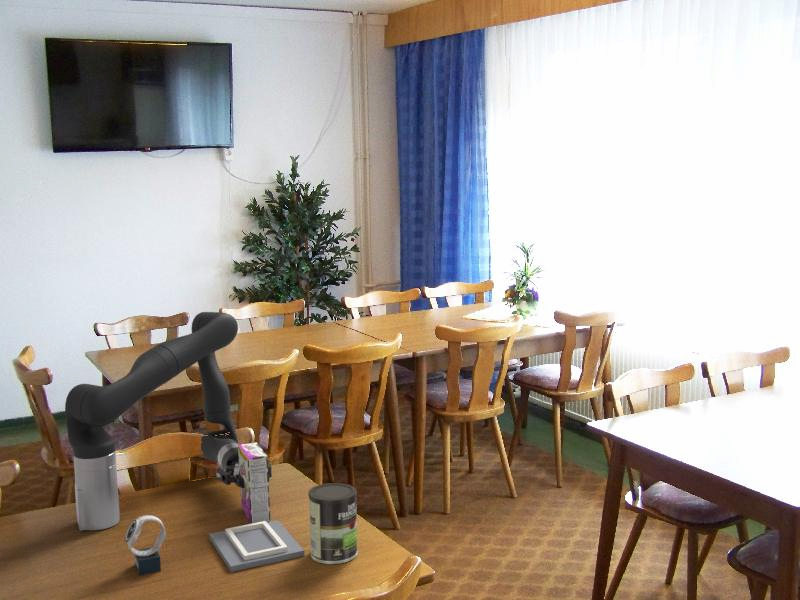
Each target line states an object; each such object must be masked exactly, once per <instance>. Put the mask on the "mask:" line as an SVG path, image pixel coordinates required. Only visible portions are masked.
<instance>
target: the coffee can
mask: <svg viewBox="0 0 800 600" xmlns="http://www.w3.org/2000/svg"><path fill="white" fill-rule="evenodd" d="M307 493H308V506H309V507H308V509H309V539H310V540H309V541H310V554H309V555H310V558H311V559H312V560H313V561H315V562H317V563H319V564H325V565H341V564H344V563H345V564H346V563H347V562H350V561H352V560H354V559H355V558H356V557H357V556H358V553H359V551H358V522H357V521H358V519H357V518H358V517H357V516H358V513H357V512H358V511H357V510H358V509H357V493H358V490H357V488H356V487H354V485H351V484H349V483H348V484H346V483H341V482H340V483H339V482H330V483H328V482H327V483H322V484H319V485H315V486H313V487H312V488H310V489H309V490H308V492H307Z"/></svg>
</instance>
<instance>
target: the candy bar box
mask: <svg viewBox="0 0 800 600" xmlns="http://www.w3.org/2000/svg"><path fill="white" fill-rule="evenodd" d="M238 454H239V472H240V475H241V476H242V478H243V479H244V485H245V488H241V487H239V488H240V504H241V505H240V506H241V510H242V511H243V513H244V515H245V516H246V518H247V519H248V521H249V522H250V523H249V524H252V523H257V522H262V521H266V522H271V505H270V503H271V501H270V500H271V499H270V484H269V483H270V478H269V479H268V458H269V457H268V455H267V453H265V451H264V450H263V448H262V447H261V446H260V445H259V443H258V442H251V443H250V442H249V443H247V442H246V443H242V444H240V443H239V445H238Z"/></svg>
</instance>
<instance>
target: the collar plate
mask: <svg viewBox="0 0 800 600" xmlns="http://www.w3.org/2000/svg"><path fill="white" fill-rule="evenodd" d="M209 540H210V542H211V543H212V545H213V546H214V548H215V549H216V552H217V553H218V554H219V556H220V557H221V559H222V560H223V562H224V563H225V565H226V567H227V568H228V570H229V571H230V573H233V572H238V571H242V570H246V569H251V568H255V567H260V566H265V565H268V564H273V563H279V562H282V561H286V560H287V561H288V560H291V559H296V558H301V557H304V556H305V550H304V548H303V547H302V546H301V545H300V544H299V542H298V541H297V540H296V539H295V538H294V537H293V535H291V533H290V531H289V532H288V530H287V529H286V528H285V527H284V526H283V525H282V523H281V522H280V521H279V520H278V519H277V520H272V521H271V520H270V522H266V521H262V522H257V523H252V524H251V523H248V524H244V525H238V526H233V527H229V528H228V527H227V528H225V529H224V530H223V531H222V530H220V531H217V532H212V533H209Z"/></svg>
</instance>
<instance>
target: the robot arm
mask: <svg viewBox="0 0 800 600" xmlns="http://www.w3.org/2000/svg"><path fill="white" fill-rule="evenodd" d="M190 329H191V333H189V334H186V335H182V336H178V337H174V338H171V339H169V340H165V341H163V342H161V343H158V344H155V345H154V346H153V347H151V348H149V349H147V350H146V351H144V352H143V353H142V354H140V355H139V356H138V357H137V358H136V359H135V361H134V363H133V364H132V366H131V368H130V370H129V372H128V373H127V374H126V375H124V376H123V377H121V378H120V379H118V380H116V381H114V382H112V383H110V384H107V385H104V386H101V385H97V384H90V383H80V384H76V385H75V386H73V388H71V390H69V392H68V394H67V396H66V398H65V406H64V415H65V422H66V430H67V437H68V442H69V445H70V447H71V449H72V453H73V454H72V455H73V468H74V469H73V470H74V494H75V507H76V508H75V510H76V521H77V525H78V530H79V531H80V532H81V531H100V530H105V529H108V528H109V529H110V528H112V527H114V526H116V525H117V524H119V523H120V521H121V520H120V517H121V516H120V513H121V512H120V503H119V502H120V501H119V487H118V485H119V484H118V483H119V482H118V472H117V471H118V470H117V467H118V466H117V454H116V453H117V452H116V442H115V438H114V437H113V436H112V435H111V434H109V433H108V431H107V430H106V429H105V428H104V427H106V426H107V425H110V424H111V423H113V422H115V421H116V420H117V419H118V418H120V417H121V416H122V415H124V413H125V412H127V411H128V410H129V409H130V408H131V407H132V406H134V405H135V404H136V403H137V402H138V401H140V400H142V399H143V398H144V397H146V396H148V395H150V394H151V393H152V392H154V391H155V390H157V389H158V388H160V387H161V386H163V385H165V384H167V383H168V382H169V381H171V380H172V379H174V378H175V377H177V376H178V375H180V374H181V373H182V372H184V371H185V370H187V369H189V368H190V367H192V366H193V365H194V364H196V363H197V364H198V370H199V374H200V375H199V376H200V379H201V385H202V387H201V388H202V397H203V399H202V400H203V412H204V413H203V414H204V420H205V421H206V422H207V423H209V424H217V425H221V426H223V429H217V430H212V431H207V432H205V433H203V434H202V435H208V436H203V437H201V436H200V437H201V438H202V439H201V441H202V443H201V451H202V452H203V454H202V453H201V455H202V456H203V457H204V458H206V459H207V460H209V461H211V462H215V463H217V464H219V468H216V470H215V471H216V480H218V481H220V482H221V483H223V484H225V485H226V486H229V485H231V484H232V483H233V485H236V486H237V488H240V487H241V488H245V485H244V479H243V478H242V476H241V475H240V472H239V454H238V445H240V443H239V444H238V440H237V436H238V434H237V435H236V433H237V431H236V428H235V426H234V425H235V424H234V422H233V418H232V412H231V399H230V398H231V396H230V389H229V387H228V383H227V381H226V378H225V377H224V374H223V373H222V371H221V368H220V366H219V363H218V360H217V358H216V353H215V352H218V351H219V350H222V349H224V348H225V347H227V346H229V345H230V344H231V343H232V342H233V341H234V340H235V338H236V336H237V335H238V331H239V324H238V321H237V319H236V318H235V316H233V315H231V314H229V313H227V312H224V311H223V312H220V311H202V312H199V313H197V314H196V315H195V316H194V318H193V319H192V322H191V328H190ZM228 432H230V433H228ZM235 432H236V433H235ZM225 433H227V434H229V435H226V434H225ZM220 434H224V435H220ZM215 435H217V436H215ZM225 435H226V436H225ZM201 451H200V452H201ZM272 468H273V467H272V464H271V461H270V460H268V479H269V480H270V478H272V477H273V475H272Z"/></svg>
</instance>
